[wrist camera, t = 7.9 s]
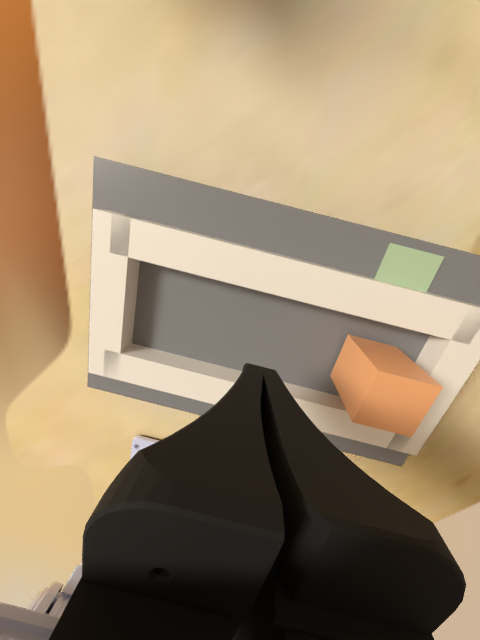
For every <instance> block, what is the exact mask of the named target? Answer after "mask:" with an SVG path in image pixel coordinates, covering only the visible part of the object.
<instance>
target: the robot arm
mask: <svg viewBox="0 0 480 640" xmlns="http://www.w3.org/2000/svg"><path fill="white" fill-rule="evenodd" d="M62 587H63V584H61V583H59V582H53V583H52V584H51V585H50V586H49V587H47V588H45V589H44V590H42V591H40V592H39V593H38V594H37V595H36V596H35V597H34V598H33V600H32V601H31V603H30V604H29V605H28V606H27V608H22V607H17V606H13V605H10V604H5V603H1V602H0V640H434V638H433V636H432V632H434V631H435V630H436V629H437V628H438V627H439V626H440V625H441V624H442V623H443V622H444V621H445V620H446V619H447V618H448V617H449V616H450V615H451V614H452V613H453V612H454V611H455V610H456V609H457V608H458V606H459V605H460V603H461V602H462V600H463V597H464V592H465V588H466V583H465V579H464V575H463V573H462V571H461V570H460V567H459V566H458V564H457V562H456V561H455V559H454V557H453V556H452V554H451V552H450V551H449V549H448V547H447V545H446V544H445V542H444V540H443V539H442V537H441V535H440V534H439V532H438V530H437V528H436V527H435V525H434V524H433V522H431V521H430V520H428V519H427V518H426V517H424V516H423V515H421V514H420V513H419V512H417V511H416V510H414V509H413V508H411V507H410V506H409V505H407V504H406V503H404V502H403V501H401V500H400V499H399V498H397V497H396V496H394V495H393V494H391V493H390V492H389V491H387V490H386V489H385V488H384V487H382V486H381V485H380V484H379V483H377V482H376V481H375V480H373V479H372V478H371V477H370V476H368V475H367V474H366V473H365V472H363V471H362V470H361V469H360V468H359V467H358V466H356V465H355V464H354V463H353V462H352V461H351V460H350V459H348V458H347V457H346V456H345V455H344V454H343V453H342V452H341V451H340V450H339V449H338V448H336V447H335V446H334V445H333V444H332V443H331V442H330V441H329V440H328V439H327V438H326V436H325V435H324V434H323V433H322V432H321V431H320V430H319V429H318V428H317V427H316V426H315V425H314V423H313V422H312V421H311V420H310V419H309V417H308V416H307V415H306V414H305V412H304V411H303V410H302V409H301V407H300V406H299V405H298V403H297V402H296V400H295V399H294V398H293V396H292V395H291V393H290V392H289V390H288V389H287V387H286V386H285V384H284V383H283V381H282V379H281V378H280V376H279V375H278V373H277V372H276V370H273V369H269V368H265V367H261V366H258V365H254V364H250V363H246V364H244V367H243V370H242V373H241V374H240V376H239V378H238V379H237V380H236V382H235V383H234V385H233V386H232V387H231V388H230V389H229V391H228V392H227V393H226V394H225V395H224V396H223V397H222V398H221V399H220V400H219V401H218V402H217V403H216V404H215V405H214V406H213V407H212V408H210V409H209V410H208V411H207V412H205V413H204V414H203V415H202V416H200V417H199V418H198V419H196V420H195V421H193V422H192V423H190V424H189V425H187V426H185V427H184V428H182V429H180V430H179V431H177V432H175V433H174V434H172V435H170V436H168V437H167V438H164V439H162V440H160V441H159V440H155V439H152V438H148V437H144V436H139V435H137V436H135V437H134V439H133V441H132V448H131V457H130V461H129V462H128V463H127V464H126V465H125V467H124V468H123V469H122V470H121V471H120V473H119V474H118V475H117V477H116V478H115V479H114V481H113V482H112V483H111V485H110V486H109V487H108V489H107V490H106V492H105V493H104V495H103V496H102V498H101V500H100V502H99V503H98V505H97V507H96V508H95V510H94V512H93V513H92V515H91V517H90V518H89V520H88V522H87V523H86V526H85V530H84V534H83V551H82V562H81V563H80V565H77V566H76V567H75V569H74V571H73V572H72V574H71V576H70V578H69V580H68V581H67V583H66V585H65V587H64V589H63V591H62V592H61V590H62Z"/></svg>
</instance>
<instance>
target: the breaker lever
mask: <svg viewBox="0 0 480 640" xmlns="http://www.w3.org/2000/svg"><path fill="white" fill-rule="evenodd" d="M330 376H331V378H332V380H333V382H334V385H335V387H336V389H337V391H338V393H339V395H340V397H341V399H342V402H343V404H344V406H345V408H346V410H347V412H348V414H349V416H350V419H351V421H352V422H353V423H357V424H361V425H365V426H369V427H373V428H377V429H381V430H385V431H389V432H393V433H397V434H400V435H404V436H408V437H412V436H413V434H414V433H415V431H416V429H417V428H418V426H419V425H420V423H421V422H422V420H423V418H424V417H425V415H426V414H427V412H428V410H429V409H430V407H431V406H432V404H433V403H434V401H435V399H436V398H437V396H438V395H439V393H440V391H441V390H442V388H443V387H442V386H441V385H440V384H439V383H437V382H436V381H435V380H434V379H433V378H432V377H431V376H429V375H428V374H427V373H426V372H425V371H424V370H422V369H421V368H420V367H419V366H418V365H417V364H416V363H414V362H413V361H412V360H411V359H410V358H409V357H407V356H406V355H405V354H404V353H403V352H402V351H401V350H399V349H398V348H397V347H396V346H392V345H388V344H384V343H380V342H376V341H372V340H368V339H365V338H361V337H357V336H353V335H349V334H348V335H347V338H346V340H345V342H344V345H343V347H342V349H341V352H340V354H339V356H338V359H337V361H336V363H335V366H334V368H333V370H332V373H331V375H330Z"/></svg>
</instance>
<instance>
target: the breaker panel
mask: <svg viewBox="0 0 480 640" xmlns="http://www.w3.org/2000/svg"><path fill="white" fill-rule="evenodd" d="M348 334H349V335H353V336H357V337H361V338H365V339H368V340H372V341H376V342H380V343H384V344H388V345H392V346H396V347H397V348H398V349H399V350H401V351H402V352H403V353H404V354H405V355H406V356H407V357H409V358H410V359H411V360H412V361H413V362H414V363H416V364H417V365H418V366H419V367H420V368H421V369H422V370H424V371H425V372H426V373H427V374H428V375H429V376H431V377H432V378H433V379H434V380H435V381H436V382H437V383H439V384H440V385H441V386H442V387H443V388H442V390H441V391H440V393H439V395H438V396H437V398H436V399H435V401H434V403H433V404H432V406H431V407H430V409H429V410H428V412H427V414H426V415H425V417H424V418H423V420H422V422H421V423H420V425H419V426H418V428H417V429H416V431H415V433H414V434H413V436H412V437H408V436H404V435H400V434H397V433H393V432H389V431H385V430H381V429H377V428H373V427H369V426H365V425H361V424H357V423H353V422H352V421H351V419H350V416H349V414H348V412H347V410H346V408H345V406H344V404H343V402H342V399H341V397H340V395H339V393H338V391H337V389H336V387H335V385H334V382H333V380H332V378H331V376H330V375H331V373H332V370H333V368H334V366H335V363H336V361H337V359H338V356H339V354H340V352H341V349H342V347H343V345H344V342H345V340H346V338H347V335H348ZM479 360H480V255H476V254H472V253H468V252H465V251H461V250H457V249H453V248H449V247H445V246H441V245H437V244H434V243H430V242H426V241H422V240H418V239H414V238H410V237H406V236H402V235H399V234H395V233H391V232H387V231H383V230H379V229H375V228H371V227H367V226H364V225H360V224H356V223H352V222H348V221H344V220H340V219H336V218H333V217H329V216H325V215H321V214H317V213H313V212H309V211H305V210H301V209H298V208H294V207H290V206H286V205H282V204H278V203H274V202H270V201H266V200H263V199H259V198H255V197H251V196H247V195H243V194H239V193H235V192H232V191H228V190H224V189H220V188H216V187H212V186H208V185H204V184H200V183H197V182H193V181H189V180H185V179H181V178H177V177H173V176H169V175H165V174H162V173H158V172H154V171H150V170H146V169H142V168H138V167H134V166H131V165H127V164H123V163H119V162H115V161H111V160H107V159H103V158H99V157H96V156H94V168H93V205H92V241H91V278H90V314H89V351H88V387H91V388H95V389H99V390H103V391H107V392H111V393H115V394H119V395H123V396H127V397H130V398H134V399H138V400H142V401H146V402H150V403H154V404H158V405H162V406H166V407H170V408H174V409H178V410H182V411H186V412H190V413H193V414H197V415H201V416H202V415H203V414H204V413H205V412H207V411H208V410H209V409H210V408H212V407H213V406H214V405H215V404H216V403H217V402H218V401H219V400H220V399H221V398H222V397H223V396H224V395H225V394H226V393H227V392H228V391H229V389H230V388H231V387H232V386H233V385H234V383H235V382H236V380H237V379H238V378H239V376H240V374H241V373H242V370H243V367H244V364H246V363H250V364H254V365H258V366H261V367H265V368H269V369H273V370H276V372H277V373H278V375H279V376H280V378H281V379H282V381H283V383H284V384H285V386H286V387H287V389H288V390H289V392H290V393H291V395H292V396H293V398H294V399H295V400H296V402H297V403H298V405H299V406H300V407H301V409H302V410H303V411H304V412H305V414H306V415H307V416H308V417H309V419H310V420H311V421H312V422H313V423H314V425H315V426H316V427H317V428H318V429H319V430H320V431H321V432H322V433H323V434H324V435H325V436H326V438H327V439H328V440H329V441H330V442H331V443H332V444H333V445H334V446H335V447H336V448H338V449H339V450H340V451H343V452H347V453H351V454H355V455H359V456H363V457H367V458H371V459H374V460H378V461H382V462H386V463H390V464H394V465H398V466H402V465H403V463H404V462H405V460H406V459H407V457H408V455H409V454H411V455H415V456H416V455H417V454H418V452H419V451H420V449H421V448H422V446H423V445H424V443H425V442H426V440H427V439H428V437H429V436H430V434H431V433H432V431H433V430H434V428H435V427H436V425H437V424H438V422H439V421H440V419H441V418H442V416H443V415H444V413H445V412H446V410H447V409H448V407H449V406H450V404H451V403H452V401H453V400H454V398H455V397H456V395H457V394H458V392H459V391H460V389H461V388H462V386H463V384H464V383H465V381H466V380H467V378H468V377H469V375H470V374H471V372H472V371H473V369H474V368H475V366H476V365H477V363H478V362H479Z"/></svg>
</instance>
